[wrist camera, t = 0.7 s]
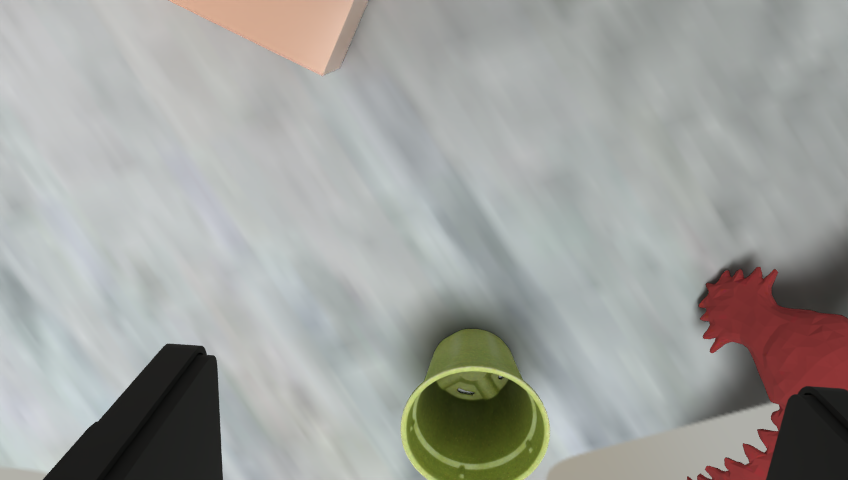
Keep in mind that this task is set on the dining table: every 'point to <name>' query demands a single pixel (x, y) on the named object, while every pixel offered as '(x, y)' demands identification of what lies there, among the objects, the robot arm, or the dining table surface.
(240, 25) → the pink planter box
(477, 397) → the plant pot
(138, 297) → the dining table surface
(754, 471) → the decorative bird sculpture
